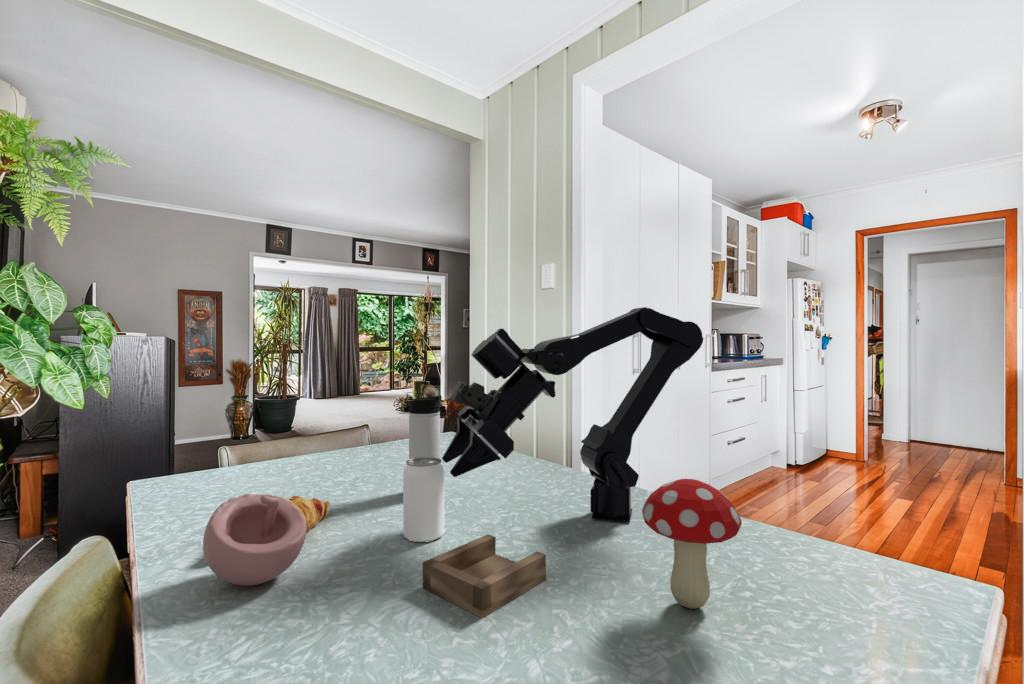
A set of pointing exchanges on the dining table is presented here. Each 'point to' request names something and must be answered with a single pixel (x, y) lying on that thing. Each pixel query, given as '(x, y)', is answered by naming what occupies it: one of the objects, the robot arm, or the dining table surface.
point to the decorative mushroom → (691, 532)
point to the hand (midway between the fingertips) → (447, 467)
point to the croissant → (310, 509)
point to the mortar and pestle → (253, 538)
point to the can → (423, 499)
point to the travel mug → (424, 427)
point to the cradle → (481, 576)
